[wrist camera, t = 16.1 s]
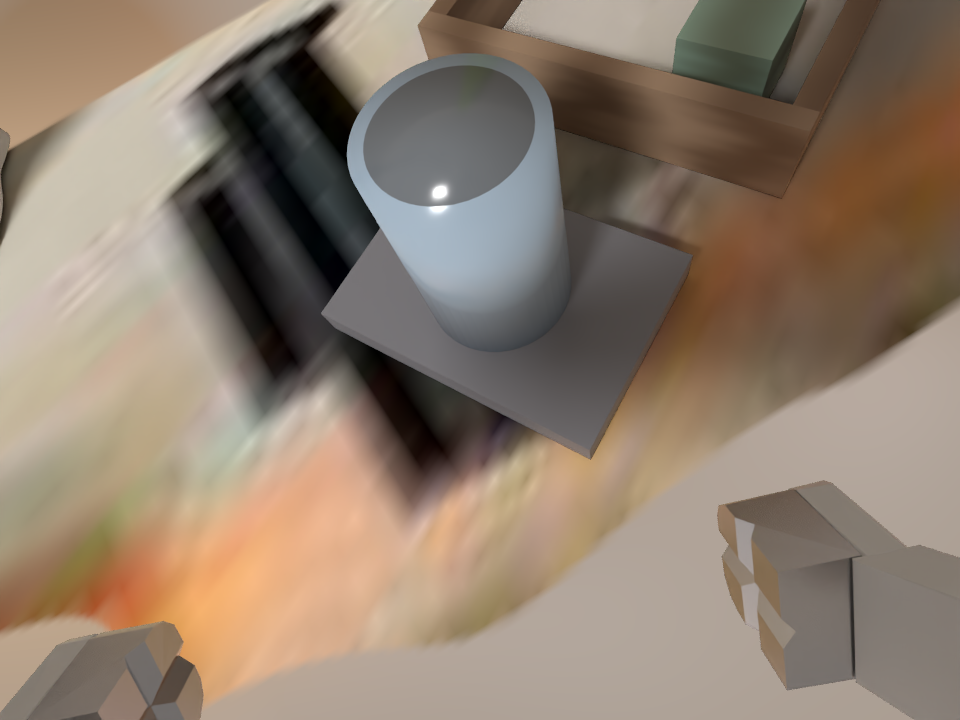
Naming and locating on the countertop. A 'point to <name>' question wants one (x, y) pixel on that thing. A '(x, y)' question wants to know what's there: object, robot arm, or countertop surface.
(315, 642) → the countertop surface
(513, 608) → the countertop surface
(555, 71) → the crate
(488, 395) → the board
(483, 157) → the cup
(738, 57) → the block
